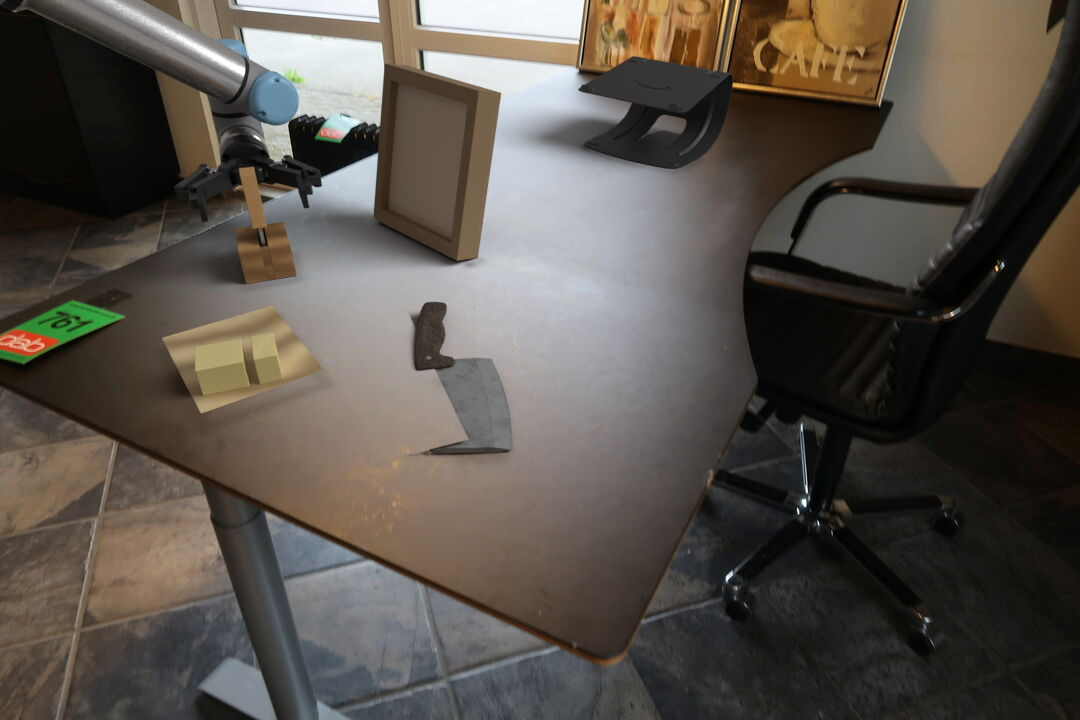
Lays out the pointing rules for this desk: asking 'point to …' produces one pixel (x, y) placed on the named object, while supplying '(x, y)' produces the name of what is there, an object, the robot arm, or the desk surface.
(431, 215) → the photo frame
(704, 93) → the laptop stand
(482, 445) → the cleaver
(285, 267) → the knife block
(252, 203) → the knife
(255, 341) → the block
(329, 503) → the desk surface
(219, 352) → the butter
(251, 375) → the board
